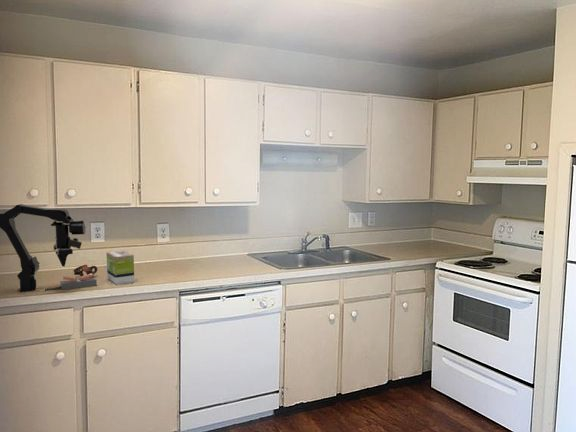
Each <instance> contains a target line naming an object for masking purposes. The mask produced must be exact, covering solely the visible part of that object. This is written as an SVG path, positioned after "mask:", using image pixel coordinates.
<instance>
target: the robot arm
mask: <svg viewBox="0 0 576 432" xmlns="http://www.w3.org/2000/svg"><path fill="white" fill-rule="evenodd" d="M21 214H24V215H32V216H38V217H45V218H47V219H48V218H49V219H50V220H53V222H52V223H51V224H50V227H55V237H54V239H55V243H54V245H53V248H52V249H53V250H54V251H55V252H54V253H55V254H56V256H57V259H58V261H59V262H60V264H61V267H65V266H66V262H67V258H68V256H69V255H73V254H74V253H73V252H74V250H73V249H72V247H73V248H75V249H78V250H80V249H81V247H82V244H83V243H82V242H81V241H79V239H78V238H76V237H74V238H71V237H70V234H71V235H73V236H74V235H85V234H86V230H87V229H86V225H85V220H74V218H72V217H71V216H70V212H69V211H68V210H67V209H65V208H44V207H38V206H32V205H27V204H22V203H21V204H16V205H15V206H14V207H12V208H11V209H9V210H7V211H6V212H2V213H0V229H1V230H2V231H3V232H5V233H6V236H7V237H8V240H9V241H10V243H11V245H12V247H13V249H14V250H15V252H16V254H17V256H18V258H19V262H20V268H21V271H20V272H19V273H18V274H17V275H16V276H17V279H18V281H19V292H21V293H22V292H29V291H35V290H37V280H36V278H35V275H36V273H37V272H38V271H39V269H40V264H41V262H39V261H38V258H37V256H32V255H31V254H30V253H29V251H28V249H27V247H26V246H25V244H24V241H23V240H22V238H21V236H20V234H19V233H18V230H17V228H16V221H15V218H17V217H18V216H19V215H21ZM69 233H70V234H69Z"/></svg>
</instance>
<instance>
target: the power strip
mask: <svg viewBox="0 0 576 432" xmlns="http://www.w3.org/2000/svg"><path fill="white" fill-rule="evenodd" d="M97 283H98V282H97V279H96V278H95V277H93V278H86V279H83V280H81V279H80V278H77V280H60V281H59V286H55V287H47V288H44V291H45V292H46V291H53V290H60V289H61V291H65V290H73V289H81V288H89V287H90V288H91V287H97V286H98V284H97Z"/></svg>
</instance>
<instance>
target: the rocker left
mask: <svg viewBox="0 0 576 432" xmlns="http://www.w3.org/2000/svg"><path fill="white" fill-rule="evenodd" d="M77 279H78V278H77V277H73V276H63V275H62V281H68V280H77Z"/></svg>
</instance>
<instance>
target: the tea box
mask: <svg viewBox="0 0 576 432" xmlns="http://www.w3.org/2000/svg"><path fill="white" fill-rule="evenodd" d="M134 255H135V254H131V253H130V252H128V251H125V250H119V251H111V252H106V272H107V273H106V274H107V276H106V277H107V280H109V281H111V282H112V283H113V284H115V285H122V284H130V283H134V282H135V264H134V263H135V262H134V261H135V256H134Z"/></svg>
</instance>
